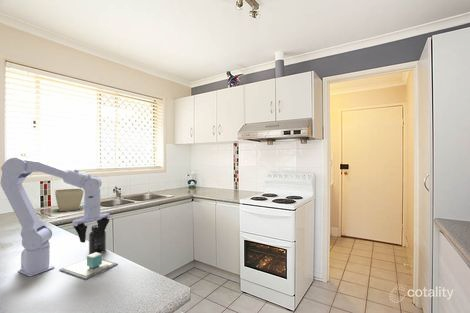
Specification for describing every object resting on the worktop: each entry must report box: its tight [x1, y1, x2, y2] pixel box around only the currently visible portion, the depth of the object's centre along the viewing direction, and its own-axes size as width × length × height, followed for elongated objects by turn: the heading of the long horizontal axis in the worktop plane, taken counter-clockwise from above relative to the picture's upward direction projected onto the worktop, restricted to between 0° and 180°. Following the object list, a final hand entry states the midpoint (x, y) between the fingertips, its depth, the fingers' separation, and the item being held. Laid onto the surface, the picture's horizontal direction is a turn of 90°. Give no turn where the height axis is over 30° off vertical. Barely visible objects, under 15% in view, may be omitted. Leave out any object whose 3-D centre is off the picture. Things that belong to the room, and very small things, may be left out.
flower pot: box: [54, 188, 85, 212], centre depth 199 cm, size 19×19×17 cm
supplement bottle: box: [88, 224, 107, 254], centre depth 108 cm, size 7×7×12 cm
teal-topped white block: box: [86, 252, 103, 269], centre depth 90 cm, size 4×4×5 cm
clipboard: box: [59, 258, 118, 281], centre depth 91 cm, size 16×13×1 cm
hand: (92, 239), depth 96 cm, fingers open, 7 cm apart
